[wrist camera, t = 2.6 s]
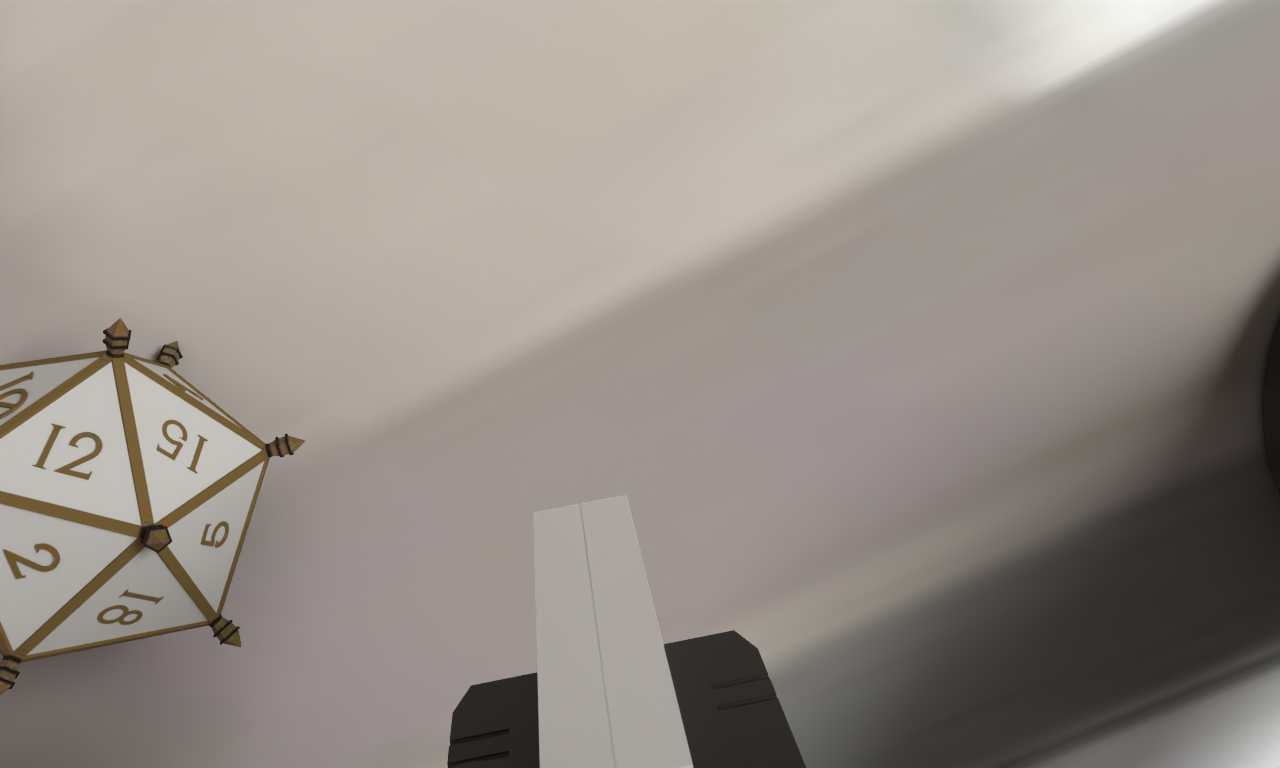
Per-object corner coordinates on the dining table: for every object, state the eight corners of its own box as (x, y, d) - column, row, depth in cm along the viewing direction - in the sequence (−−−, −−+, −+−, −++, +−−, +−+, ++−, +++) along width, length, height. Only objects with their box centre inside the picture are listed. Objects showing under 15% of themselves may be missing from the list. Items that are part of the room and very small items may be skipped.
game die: (210, 460, 32) (67, 781, 26) (-54, 300, 27) (-308, 653, 21) (403, 380, 28) (283, 748, 22) (129, 170, 23) (-129, 573, 17)
